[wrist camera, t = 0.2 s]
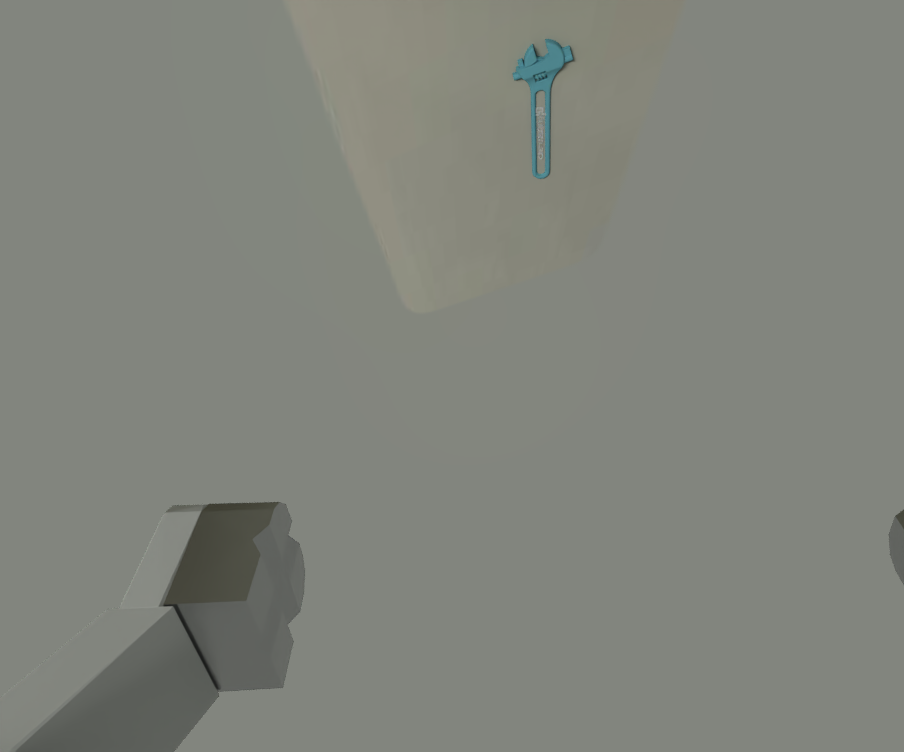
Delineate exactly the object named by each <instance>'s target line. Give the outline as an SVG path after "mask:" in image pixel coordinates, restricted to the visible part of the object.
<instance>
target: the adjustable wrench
mask: <svg viewBox="0 0 904 752" xmlns="http://www.w3.org/2000/svg"><path fill="white" fill-rule="evenodd" d="M545 41H546V46H547V49H548V52H549V53H547V54H546V55H545V56H544V57H540V56H536V53H535V50H534V47H533V44H532V45H531V46H530V47H529V48H528V49H527V51H526V53H525V57H524V63H523V60H522V59H519V60H518V65H519V66H517V67H516V71H517V72H515V73H513V77H514V80H518V79H521V78H522V79H523V80H525V81H526V82H527V83H528V84H529V86H530V90H531V122H532V173H533V175H534V176H535V177H536V178H539V179H542V178H545V177H547V176H548V174H549V172H550V90H551V85H552V81H553V79H554V77H555V75H556V74H557V72H558V71H559V70H560V69H561V68H562V67H563V65H564V63H566V62H569V61H572V60H573V58H572V54H571V50H570V46H566V47H564V48H562V47H561V46H560V44H559V43H557V42H556V41H554V40H551V39H545ZM546 75H547V77H546ZM543 77H544V78H543ZM540 78H541V79H540ZM535 79H537V81H535ZM540 90H543V91H545V113H543V107H537V108H536V92H537V91H540ZM540 109H541V115H545V172H544V173H543V174H538V173H537V158H536V116H540V111H538V114H536V113H537V110H540ZM539 118H540V117H539ZM539 118H538V122H539V123H540V122H541V121H540V120H539ZM541 120H544V119H543V117H542V119H541ZM538 122H537V123H538ZM539 123H538V124H539ZM541 123H542V124H541V125H542V126H544V125H543V122H541ZM538 124H537V125H538ZM539 125H540V124H539ZM538 127H539V128H542V129H541V130H540V129H539V128H538ZM538 127H537V131H538V132H542V133H538V135H539V134H540V135H539V136H541V137H539V136H538V137H537V138H538V140H540V141H542V143H543V141H544V140H542V139H543V131H542V130H543V127H540V126H538ZM538 129H539V130H538ZM541 134H542V135H541ZM539 138H542V139H539ZM540 141H538V142H540ZM542 143H538V144H542ZM539 147H540V145H539ZM539 147H538V149H539ZM540 151H541V152H542V151H543V146H542V150H541V148H540V149H539V152H538V156H539V154H541V155H542V157H540V156H539V159H540V160H541V159H542V158H543V153H541V152H540Z"/></svg>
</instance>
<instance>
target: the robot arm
mask: <svg viewBox="0 0 904 752" xmlns="http://www.w3.org/2000/svg"><path fill="white" fill-rule="evenodd" d="M291 523H292V520H291V517H290V514H289V512H288V509H287V506H286V504H284V503H281V502H269V503H267V502H265V503H226V504H225V503H224V504H208V505H174V506H172V507H171V508H169V509H168V510H167V511H166V512H165V513H164V514H163V516H162V518H161V520H160V522H159V524H158V526H157V528H156V531H155V533H154V535H153V537H152V539H151V541H150V543H149V545H148V548H147V550H146V552H145V554H144V556H143V558H142V561H141V562H140V565H139V567H138V569H137V571H136V573H135V575H134V578H133V580H132V582H131V584H130V586H129V588H128V590H127V592H126V594H125V597H124V599H123V601H122V603H121V605H120V607H119V608H114V609H107V610H106V611H105V612H103V613H102V614H101V615H100V616H98V617H97V618H96V619H95V620H94V621H92V622H91V623H90V624H89V625H88V626H86V627H85V628H84V629H83V630H81V631H80V632H79V633H78V634H77V635H75V636H74V637H73V638H72V639H71V640H69V641H68V642H67V643H66V644H65V645H63V646H62V647H61V648H60V649H58V650H57V651H56V652H55V653H54V654H52V655H51V656H50V657H49V658H47V659H46V660H45V661H44V662H43V663H42V664H40V665H39V666H38V667H37V668H35V669H34V670H33V671H32V672H30V673H29V674H28V675H27V676H26V677H24V678H23V679H22V680H21V681H19V682H18V683H17V684H16V685H15V686H13V687H12V688H11V689H10V690H9V691H7V692H6V693H5V694H4V695H3V696H1V697H0V752H174V751H175V750H176V748H177V747H178V746H179V745H180V744H181V742H182V741H183V740H184V739H185V737H186V736H187V735H188V734H189V732H190V731H191V730H192V729H193V728H194V726H195V725H196V724H197V723H198V721H199V720H200V719H201V718H202V716H203V715H204V714H205V713H206V711H207V710H208V709H209V708H210V707H211V705H212V704H213V703H214V702H215V700H216V699H217V698H218V697H219V693H218V692H222V691H238V690H255V689H271V688H283V685H284V681H285V677H286V672H287V667H288V663H289V659H290V654H291V650H292V646H293V638H292V636H291V633H290V630H289V627H288V624H289V623H290V622H291V620H293V618H294V617H295V616H296V615H297V614H298V613H299V612H300V610H301V605H302V600H303V595H304V580H305V568H304V560H303V555H302V551H301V548H300V544H299V543H298V542H297V541H295V540H294V539H293V538H291V537H290V536H289V535H288V534H289V530H290V526H291ZM889 545H890V555H891V558H892V561H893V564H894V567H895V570H896V572H897V574H898V575H899V577H900V579H901V581H902V583H903V584H904V510H903V511H901V512H900V513H899V514H897V515H896V516H895V518H894V521H893V524H892V526H891V529H890V532H889Z"/></svg>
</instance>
